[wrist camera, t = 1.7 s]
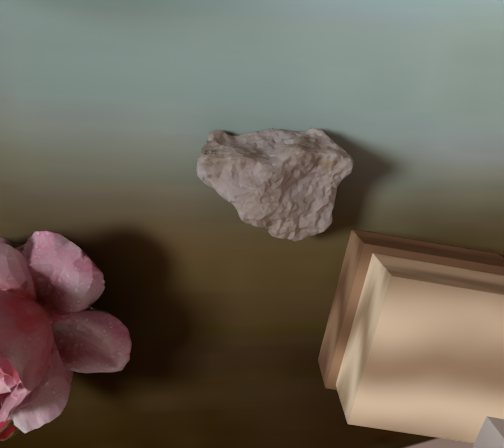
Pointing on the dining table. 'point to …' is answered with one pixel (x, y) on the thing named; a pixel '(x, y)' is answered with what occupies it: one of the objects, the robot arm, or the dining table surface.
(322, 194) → the stone
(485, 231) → the dining table surface
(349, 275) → the tower base
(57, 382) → the flower
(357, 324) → the tower top
